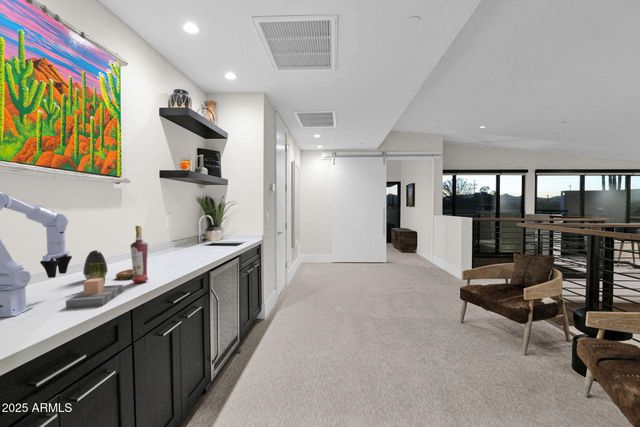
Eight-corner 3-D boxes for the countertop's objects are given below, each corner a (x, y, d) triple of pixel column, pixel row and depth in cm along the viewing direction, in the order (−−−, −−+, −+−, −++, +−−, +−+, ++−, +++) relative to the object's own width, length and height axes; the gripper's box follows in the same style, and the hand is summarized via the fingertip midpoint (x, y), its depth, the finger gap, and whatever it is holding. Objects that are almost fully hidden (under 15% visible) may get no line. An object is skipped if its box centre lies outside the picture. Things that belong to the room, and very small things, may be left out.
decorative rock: (121, 276, 169) (114, 283, 155) (120, 268, 168) (113, 275, 154) (144, 272, 173) (139, 279, 159) (143, 265, 173) (139, 272, 159)
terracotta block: (98, 293, 122) (97, 280, 122) (83, 294, 121) (83, 281, 121) (104, 290, 127) (103, 278, 127) (90, 291, 126) (89, 278, 125)
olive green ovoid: (83, 283, 152) (82, 252, 151) (83, 279, 160) (82, 250, 159) (108, 279, 158) (107, 250, 158) (107, 276, 166) (105, 248, 166)
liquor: (152, 280, 154) (150, 225, 153) (140, 284, 147) (138, 226, 146) (140, 280, 156) (138, 225, 155) (128, 283, 149) (126, 226, 148)
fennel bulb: (106, 287, 143) (105, 261, 143) (98, 290, 138) (97, 263, 138) (94, 287, 143) (93, 261, 143) (86, 290, 138) (85, 263, 138)
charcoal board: (103, 305, 116) (102, 297, 116) (66, 308, 113) (65, 300, 113) (123, 291, 135) (123, 284, 135) (92, 293, 132) (92, 286, 132)
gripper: (57, 244, 120) (58, 278, 120) (76, 240, 134) (77, 271, 134) (35, 245, 118) (37, 280, 119) (57, 241, 132) (59, 272, 133)
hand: (57, 275), depth 126 cm, fingers open, 7 cm apart
